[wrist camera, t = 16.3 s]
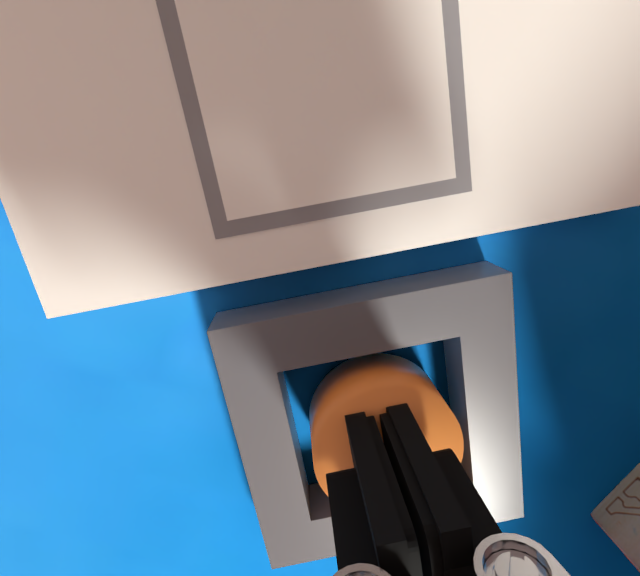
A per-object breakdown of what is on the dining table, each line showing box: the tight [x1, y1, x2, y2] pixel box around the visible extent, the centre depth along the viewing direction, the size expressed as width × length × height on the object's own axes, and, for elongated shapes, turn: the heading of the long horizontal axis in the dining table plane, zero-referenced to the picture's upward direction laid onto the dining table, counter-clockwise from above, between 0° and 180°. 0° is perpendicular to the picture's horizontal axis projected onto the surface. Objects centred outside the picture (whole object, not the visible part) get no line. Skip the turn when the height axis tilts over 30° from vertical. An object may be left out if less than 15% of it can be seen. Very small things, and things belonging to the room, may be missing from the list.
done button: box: [309, 353, 464, 497], centre depth 12 cm, size 4×4×2 cm
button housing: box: [207, 261, 524, 569], centre depth 13 cm, size 8×8×2 cm
